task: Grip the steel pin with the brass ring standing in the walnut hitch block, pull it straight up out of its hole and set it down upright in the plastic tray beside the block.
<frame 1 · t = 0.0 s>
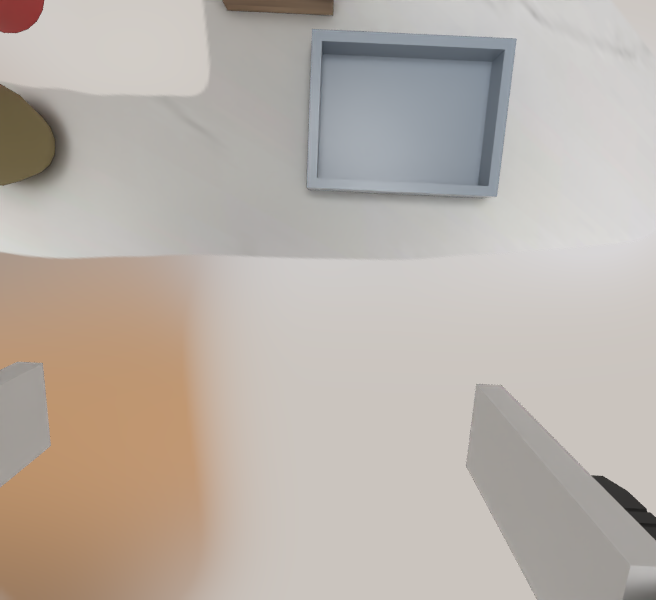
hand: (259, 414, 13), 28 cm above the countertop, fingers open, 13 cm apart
squeeze bottle: (26, 142, 38), on the countertop
tray: (400, 124, 37), on the countertop
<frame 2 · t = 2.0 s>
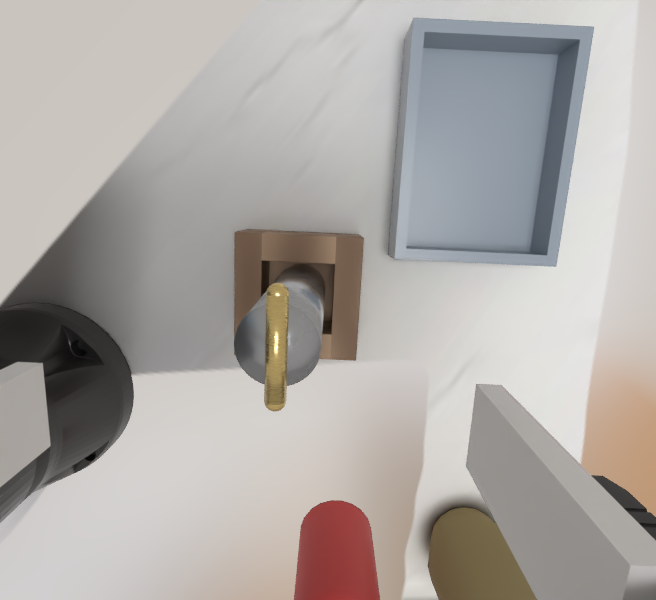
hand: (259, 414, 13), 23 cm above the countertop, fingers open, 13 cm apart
squeeze bottle: (461, 531, 40), on the countertop
steel pin: (300, 288, 34), point 1 cm above the countertop, touching hitch block
beer can: (335, 525, 40), on the countertop
tray: (472, 155, 33), on the countertop
hitch block: (301, 286, 35), on the countertop
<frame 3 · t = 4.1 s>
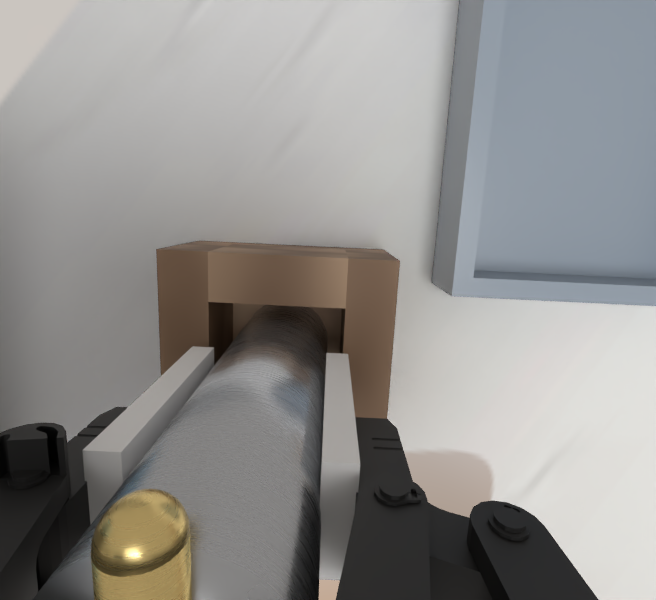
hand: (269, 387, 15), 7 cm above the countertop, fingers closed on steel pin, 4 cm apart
steel pin: (286, 340, 20), point 1 cm above the countertop, touching gripper, hitch block
tray: (580, 115, 19), on the countertop
hitch block: (288, 334, 21), on the countertop
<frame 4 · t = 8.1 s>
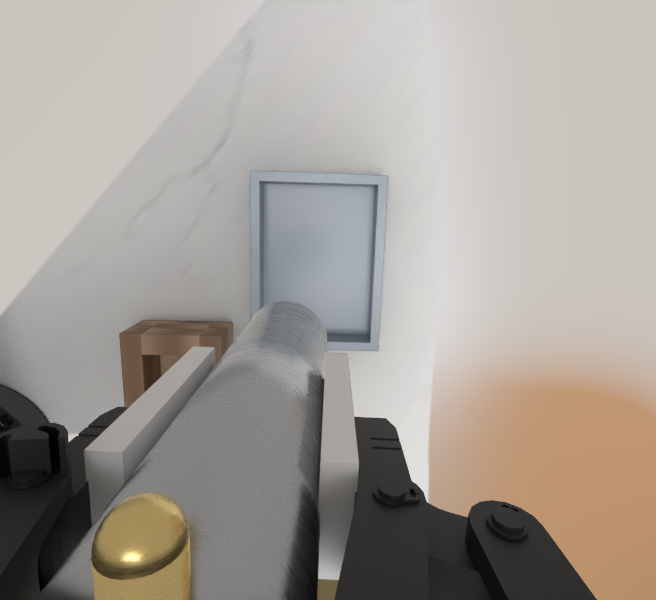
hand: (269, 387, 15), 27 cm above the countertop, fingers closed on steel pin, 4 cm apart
squeeze bottle: (336, 555, 48), on the countertop
steel pin: (286, 341, 20), point 22 cm above the countertop, touching gripper
tray: (317, 260, 41), on the countertop
hitch block: (189, 363, 43), on the countertop
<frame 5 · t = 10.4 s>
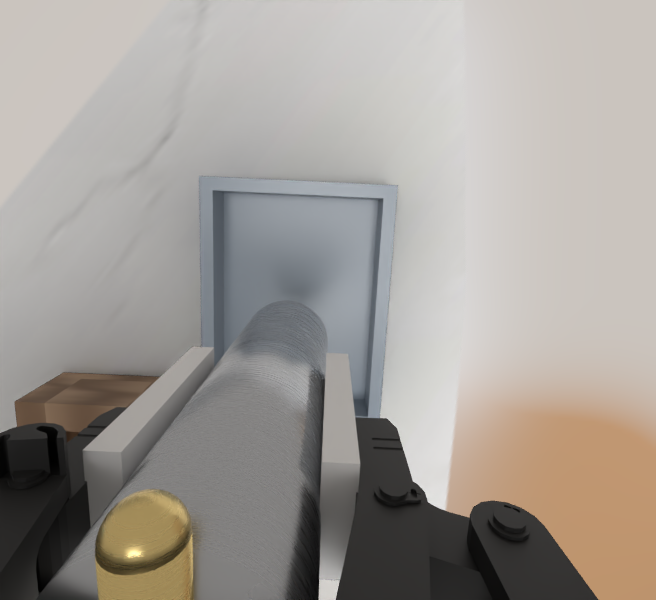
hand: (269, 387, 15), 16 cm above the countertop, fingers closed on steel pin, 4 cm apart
steel pin: (286, 340, 20), point 10 cm above the countertop, touching gripper
tray: (298, 298, 30), on the countertop
hitch block: (126, 429, 32), on the countertop
when the fingers open (8 cm above the countertop, at t = 12.1 s): steel pin drops 2 cm, resting on tray.
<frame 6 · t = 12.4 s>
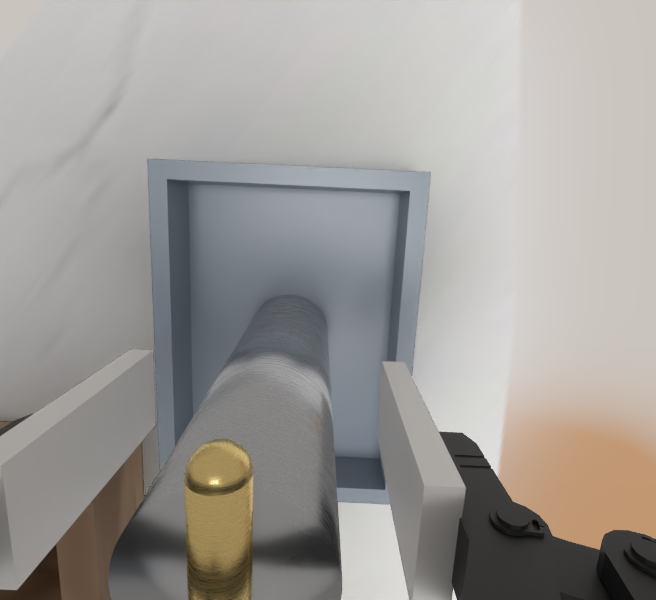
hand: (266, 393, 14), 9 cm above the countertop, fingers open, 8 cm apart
steel pin: (289, 331, 22), point 1 cm above the countertop, touching tray
tray: (291, 326, 23), on the countertop
hitch block: (68, 493, 25), on the countertop
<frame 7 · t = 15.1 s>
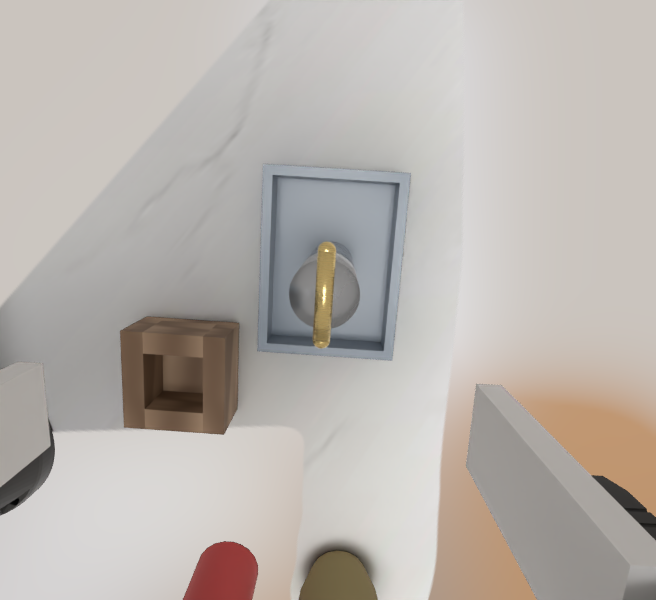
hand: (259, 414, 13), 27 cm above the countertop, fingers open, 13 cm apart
squeeze bottle: (338, 570, 46), on the countertop
steel pin: (330, 263, 38), point 1 cm above the countertop, touching tray
beer can: (230, 561, 46), on the countertop
tray: (331, 261, 39), on the countertop
hitch block: (193, 363, 41), on the countertop
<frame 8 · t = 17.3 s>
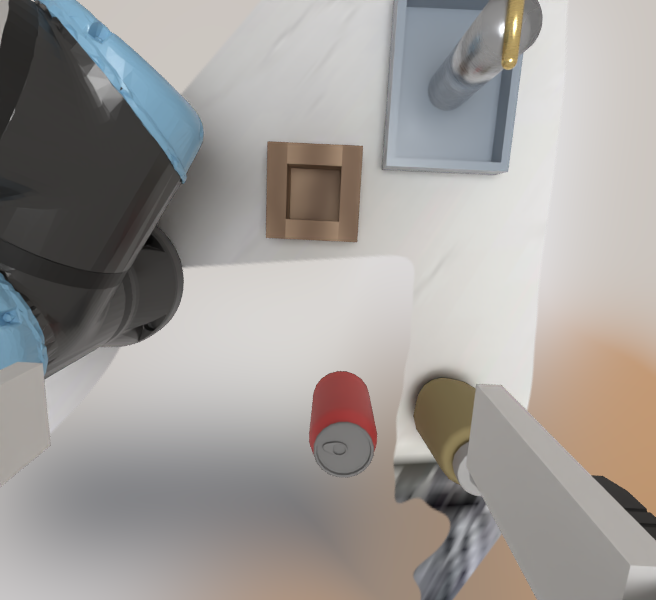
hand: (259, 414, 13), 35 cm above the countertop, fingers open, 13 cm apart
squeeze bottle: (441, 399, 50), on the countertop
steel pin: (447, 89, 42), point 1 cm above the countertop, touching tray
beer can: (341, 394, 50), on the countertop
tray: (446, 91, 43), on the countertop
hitch block: (315, 195, 45), on the countertop
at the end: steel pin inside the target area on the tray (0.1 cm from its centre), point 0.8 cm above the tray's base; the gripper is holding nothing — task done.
